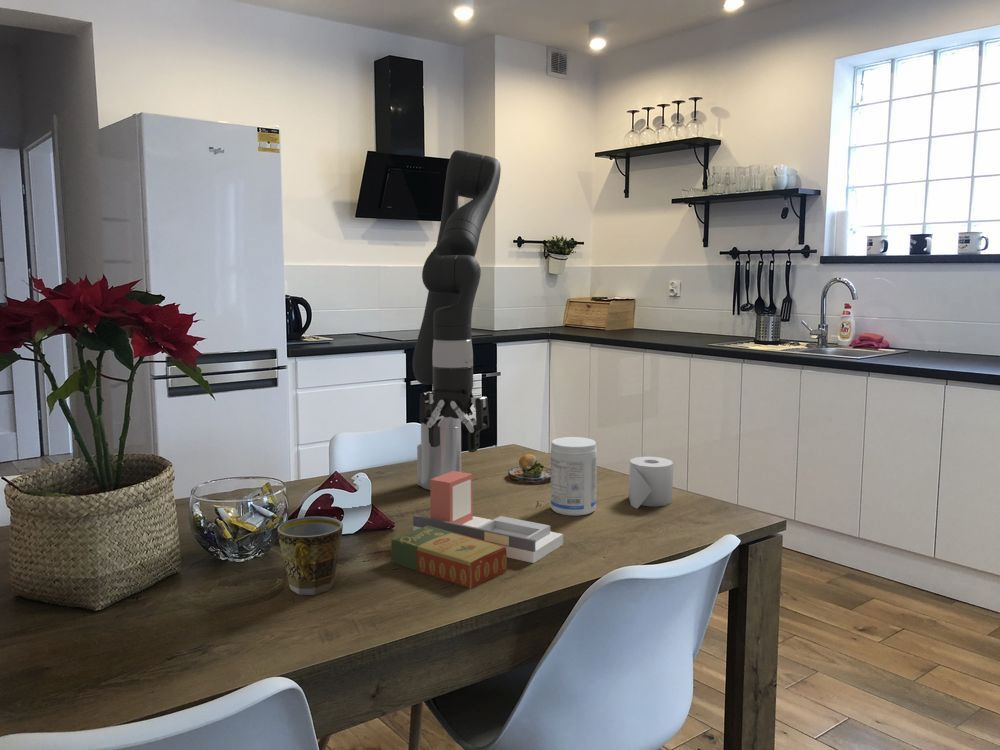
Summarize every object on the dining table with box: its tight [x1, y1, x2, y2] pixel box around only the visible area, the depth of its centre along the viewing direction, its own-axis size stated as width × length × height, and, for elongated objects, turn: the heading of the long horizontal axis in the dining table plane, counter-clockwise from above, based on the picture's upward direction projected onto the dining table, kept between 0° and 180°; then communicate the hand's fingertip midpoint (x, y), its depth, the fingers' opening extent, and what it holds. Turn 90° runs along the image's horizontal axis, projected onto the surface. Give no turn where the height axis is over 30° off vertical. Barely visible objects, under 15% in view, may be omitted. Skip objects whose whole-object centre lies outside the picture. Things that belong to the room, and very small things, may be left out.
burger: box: [507, 452, 551, 485], centre depth 194 cm, size 12×12×8 cm
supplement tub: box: [550, 436, 598, 517], centre depth 168 cm, size 10×10×15 cm
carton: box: [390, 525, 508, 589], centre depth 137 cm, size 10×18×5 cm, turn 51°
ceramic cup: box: [277, 515, 344, 596], centre depth 126 cm, size 13×10×10 cm
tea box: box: [429, 471, 474, 524], centre depth 153 cm, size 5×8×9 cm, turn 148°
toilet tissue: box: [628, 456, 674, 510], centre depth 174 cm, size 9×13×9 cm
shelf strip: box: [412, 514, 564, 564], centre depth 150 cm, size 26×11×4 cm, turn 58°
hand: (453, 449), depth 152 cm, fingers open, 8 cm apart
